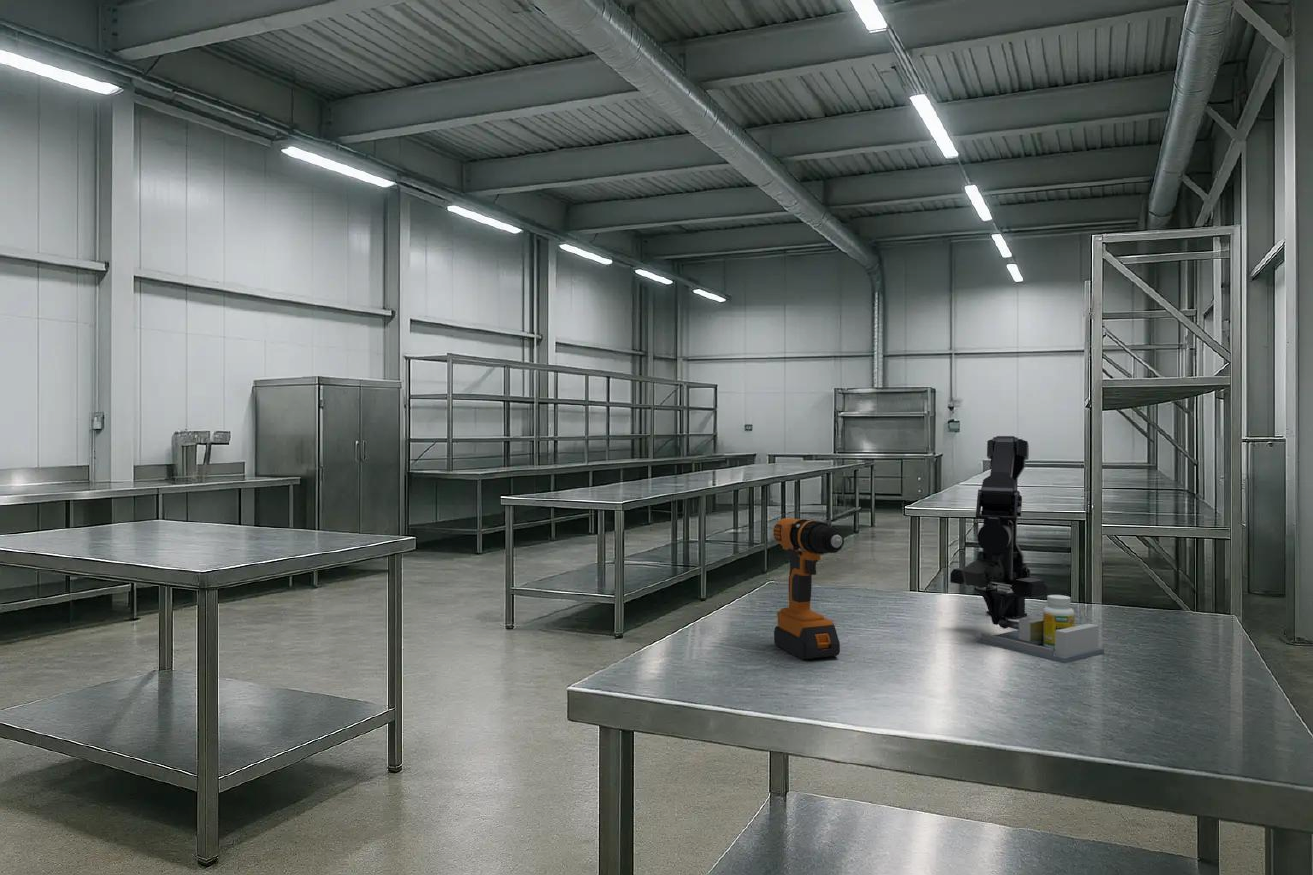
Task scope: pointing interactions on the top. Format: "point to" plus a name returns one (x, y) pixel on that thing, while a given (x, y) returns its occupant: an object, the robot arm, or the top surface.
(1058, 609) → the supplement bottle
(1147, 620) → the top surface
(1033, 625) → the sliding jaw
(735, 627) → the top surface
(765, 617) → the top surface
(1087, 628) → the vise base
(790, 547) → the power drill
